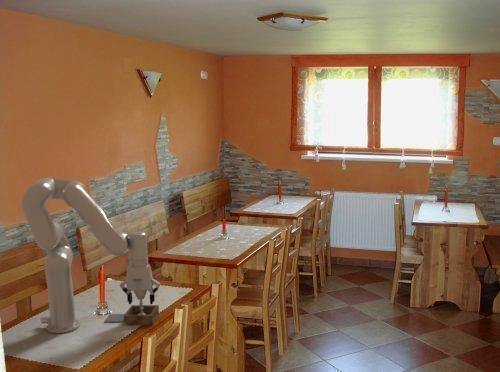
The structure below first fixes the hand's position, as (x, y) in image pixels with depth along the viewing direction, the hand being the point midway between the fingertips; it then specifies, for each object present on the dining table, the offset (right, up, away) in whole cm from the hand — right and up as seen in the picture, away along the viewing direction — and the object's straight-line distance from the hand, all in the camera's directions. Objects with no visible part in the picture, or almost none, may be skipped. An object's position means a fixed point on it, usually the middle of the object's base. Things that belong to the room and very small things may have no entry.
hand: (141, 302), depth 232 cm
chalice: (0, -7, +1) cm, 7 cm away
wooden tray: (0, -7, +1) cm, 7 cm away
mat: (-11, -7, +3) cm, 13 cm away
